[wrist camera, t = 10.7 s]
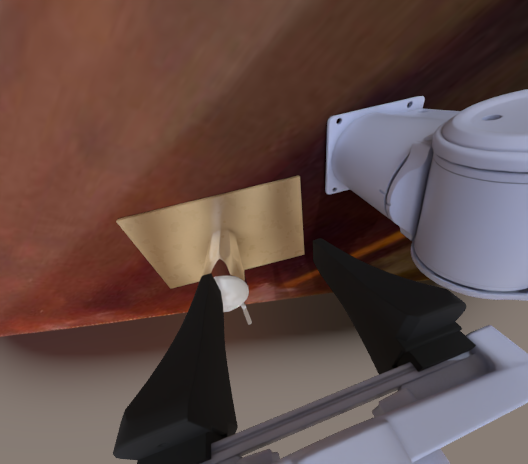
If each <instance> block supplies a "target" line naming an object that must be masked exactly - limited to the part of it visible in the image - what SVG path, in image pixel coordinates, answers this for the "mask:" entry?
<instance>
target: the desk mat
mask: <svg viewBox="0 0 528 464" xmlns="http://www.w3.org/2000/svg"><path fill="white" fill-rule="evenodd" d="M116 222H117V223H118V224H119V226H120V227H121V228H122V229H123V231H124V232H125V233H126V234H127V235H128V237H129V238H130V239H131V240H132V242H133V243H134V244H135V245H136V247H137V248H138V249H139V250H140V251H141V253H142V254H143V255H144V256H145V258H146V259H147V260H148V261H149V263H150V264H151V265H152V266H153V267H154V269H155V270H156V271H157V272H158V274H159V275H160V276H161V277H162V279H163V280H164V281H165V282H166V283H167V285H168V286H169V287H170V288H175V287H179V286H183V285H187V284H191V283H195V282H199V281H200V279H201V276H202V272H203V269H204V264H205V259H206V255H207V250H208V245H209V241H210V238H211V236H212V234H213V233H214V232H216V231H218V230H220V229H224V230H230V231H231V232H233V233H234V234H235V235H236V239H237V243H238V248H239V253H240V258H241V262H242V266H243V269H244V270H246V269H249V268H253V267H257V266H261V265H265V264H269V263H273V262H277V261H281V260H285V259H289V258H293V257H296V256H300V255H304V239H303V221H302V204H301V186H300V177H299V176H294V177H290V178H286V179H282V180H278V181H274V182H269V183H265V184H261V185H257V186H253V187H249V188H245V189H240V190H236V191H232V192H228V193H224V194H220V195H215V196H211V197H207V198H203V199H199V200H195V201H191V202H186V203H182V204H178V205H174V206H170V207H166V208H161V209H157V210H153V211H149V212H145V213H141V214H137V215H132V216H128V217H124V218H120V219H118V220H117V221H116Z"/></svg>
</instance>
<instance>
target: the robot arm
mask: <svg viewBox="0 0 528 464" xmlns="http://www.w3.org/2000/svg"><path fill="white" fill-rule="evenodd" d="M424 100H425V99H424V97H423V96H417V97H412V98H408V99H404V100H399V101H395V102H391V103H386V104H382V105H378V106H374V107H369V108H365V109H361V110H356V111H352V112H348V113H343V114H339V115H335V116H331V117H330V118H329V119H328V122H327V146H326V179H325V192H326V193H327V194H334V193H338V192H342V191H346V190H352V191H353V192H354V193H356V194H357V195H358V196H360V197H361V198H362V199H364V200H365V201H366V202H368V203H369V204H370V205H372V206H373V207H374V208H376V209H377V210H378V211H380V212H381V213H382V214H384V215H385V216H386V217H388V218H389V219H390V220H392V221H393V222H394V223H396V224H397V225H398V226H399V227H400V232H401V233H402V234H404V235H405V236H406V237H407V238H409V239H410V240H411V241H413V242H412V245H411V256H412V259H413V261H414V263H415V264H416V266H417V267H418V268H419V269H420V271H421V272H422V273H424V274H425V275H426V276H427V277H428V278H430V279H431V280H433V281H434V282H436V283H438V284H440V285H442V286H443V287H445V288H448V289H450V290H453V291H455V292H458V293H461V294H465V295H468V296H473V297H477V298H484V299H493V300H523V301H528V89H526V90H521V91H517V92H512V93H508V94H504V95H501V96H497V97H494V98H491V99H488V100H485V101H482V102H479V103H477V104H474V105H472V106H470V107H468V108H466V109H464V110H462V111H448V110H434V109H422V108H423V104H424ZM408 103H409V106H408V107H407V105H408ZM338 118H339V119H340V121H339V123H338V124H337V123H336V121H337V119H338ZM333 188H335V189H334V190H333ZM313 261H314V263H315V265H316V267H317V269H318V271H319V272H320V274H321V275H322V277H323V278H324V280H325V281H326V283H327V284H328V285H329V287H330V288H331V289H332V291H333V292H334V294H335V295H336V296H337V298H338V299H339V301H340V302H341V304H342V305H343V307H344V309H345V310H346V312H347V314H348V315H349V317H350V319H351V321H352V322H353V324H354V326H355V328H356V330H357V332H358V333H359V336H360V337H361V339H362V341H363V343H364V345H365V347H366V349H367V351H368V353H369V355H370V356H371V359H372V361H373V363H374V365H375V367H376V369H377V371H378V373H379V375H377V376H375V377H372V378H370V379H368V380H365V381H363V382H360V383H358V384H355V385H353V386H351V387H348V388H346V389H343V390H341V391H338V392H336V393H334V394H331V395H329V396H326V397H324V398H322V399H319V400H317V401H314V402H312V403H309V404H307V405H305V406H302V407H299V408H297V409H295V410H292V411H290V412H287V413H285V414H282V415H280V416H277V417H275V418H273V419H270V420H268V421H265V422H263V423H260V424H258V425H255V426H253V427H251V428H248V429H246V430H243V431H241V432H239V433H236V434H235V432H236V430H237V421H236V416H235V411H234V404H233V399H232V393H231V387H230V380H229V373H228V367H227V359H226V351H225V341H224V313H223V301H222V295H221V291H220V289H219V287H218V285H217V283H216V281H215V279H214V278H213V276H212V274H211V273H209V274H206V275H203V276H202V277H201V279H200V282H199V285H198V288H197V290H196V293H195V296H194V298H193V301H192V303H191V306H190V308H189V311H188V313H187V315H186V317H185V319H184V322H183V324H182V326H181V328H180V330H179V332H178V333H177V335H176V337H175V339H174V341H173V342H172V344H171V346H170V348H169V349H168V351H167V353H166V354H165V356H164V357H163V359H162V360H161V362H160V363H159V365H158V366H157V368H156V369H155V371H154V372H153V374H152V375H151V376H150V378H149V379H148V381H147V382H146V384H145V385H144V386H143V387H142V389H141V390H140V391H139V393H138V394H137V395H136V397H135V398H134V399H133V401H132V402H131V403H130V404H129V406H128V407H127V408H126V409H125V412H124V415H123V418H122V421H121V424H120V428H119V433H118V436H117V440H116V444H115V447H114V451H113V455H114V456H115V457H116V458H120V459H130V460H138V462H137V464H450V462H449V461H448V459H447V458H446V456H445V455H444V453H443V452H442V451H441V449H440V448H442V447H443V446H445V445H447V444H449V443H451V442H453V441H455V440H457V439H459V438H461V437H463V436H465V435H467V434H468V433H470V432H472V431H474V430H476V429H478V428H480V427H482V426H484V425H486V424H488V423H490V422H491V421H493V420H495V419H497V418H499V417H501V416H503V415H505V414H507V413H509V412H511V411H513V410H514V409H516V408H518V407H520V406H522V405H524V404H526V403H528V354H527V353H526V352H525V351H524V350H522V349H521V348H519V347H518V346H517V345H516V344H515V343H513V342H512V341H511V340H509V339H508V338H507V337H506V336H504V335H503V334H502V333H500V332H499V331H498V330H496V329H495V328H494V327H493V326H491V325H488V326H485V327H483V328H480V329H478V330H475V331H473V332H471V333H469V334H467V335H466V336H465V335H464V334H463V333H462V332H460V330H461V329H462V328H461V326H459V325H458V324H457V323H456V322H455V321H456V320H457V319H458V318H459V317H460V316H461V314H462V313H463V312H464V311H465V309H466V304H465V303H464V302H463V301H462V300H460V299H459V298H458V297H456V296H455V295H454V294H452V293H451V292H450V291H448V290H447V289H443V288H439V287H435V286H431V285H427V284H423V283H419V282H416V281H412V280H409V279H406V278H402V277H399V276H396V275H394V274H391V273H388V272H385V271H383V270H380V269H378V268H375V267H373V266H371V265H368V264H366V263H364V262H362V261H360V260H358V259H356V258H354V257H352V256H350V255H349V254H347V253H345V252H343V251H342V250H340V249H338V248H337V247H335V246H333V245H332V244H330V243H328V242H327V241H325V240H323V239H322V238H319V239H316V240H313ZM396 390H398V391H397V392H396V393H394V394H392V395H390V396H388V397H386V398H385V399H383V400H381V401H379V405H378V406H377V407H376V408H375V409H374V410H373V411H372V413H373V415H374V418H371V419H369V420H366V421H364V422H361V423H359V424H356V425H354V426H351V427H349V428H347V429H344V430H342V431H340V432H337V433H335V434H333V435H331V436H328V437H326V438H324V439H322V440H319V441H317V442H315V443H313V444H311V445H308V446H306V447H304V448H302V449H300V450H298V451H296V452H294V453H292V454H289V455H288V456H285V457H283V458H281V459H280V458H279V453H278V452H272V451H271V450H270V449H267V450H264V451H261V452H258V453H255V454H252V455H249V456H246V457H244V458H243V457H241V456H243V455H245V454H248V453H250V452H252V451H255V450H257V449H259V448H262V447H264V446H266V445H269V444H271V443H273V442H276V441H278V440H281V439H283V438H285V437H287V436H290V435H292V434H295V433H297V432H299V431H302V430H304V429H306V428H309V427H311V426H314V425H316V424H318V423H321V422H323V421H325V420H328V419H330V418H332V417H335V416H337V415H339V414H342V413H344V412H347V411H349V410H351V409H354V408H356V407H358V406H361V405H363V404H365V403H368V402H370V401H372V400H374V399H377V398H380V397H382V396H384V395H386V394H389V393H391V392H393V391H396Z"/></svg>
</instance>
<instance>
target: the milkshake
mask: <svg viewBox="0 0 528 464" xmlns="http://www.w3.org/2000/svg"><path fill="white" fill-rule="evenodd" d="M209 273H211V274H212V276H213V278H214V279H215V281H216V283H217V285H218V287H219V289H220V291H221V295H222V301H223V312H229V311H231V310H233V309H235V308H237V307H239V306H240V305H241V307H242V309H243V312H244V315H245V317H246V320H247V322H248V324H249V325H250V324H251V323H252V321H251V318H250V316H249V313H248V311H247V308H246V306H245V303H244V302H245V300H246V299H247V297H248V294H249V289H248V285H247V281H246V277H245V273H244V269H243V266H242V262H241V258H240V253H239V248H238V243H237V239H236V235H235V234H234V233H233V232H231V231H230V230H224V229H220V230H218V231H216V232H214V233H213V234H212V236H211V238H210V241H209V245H208V250H207V255H206V259H205V264H204V269H203V272H202V276H203V275H206V274H209ZM202 276H201V277H202Z"/></svg>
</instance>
